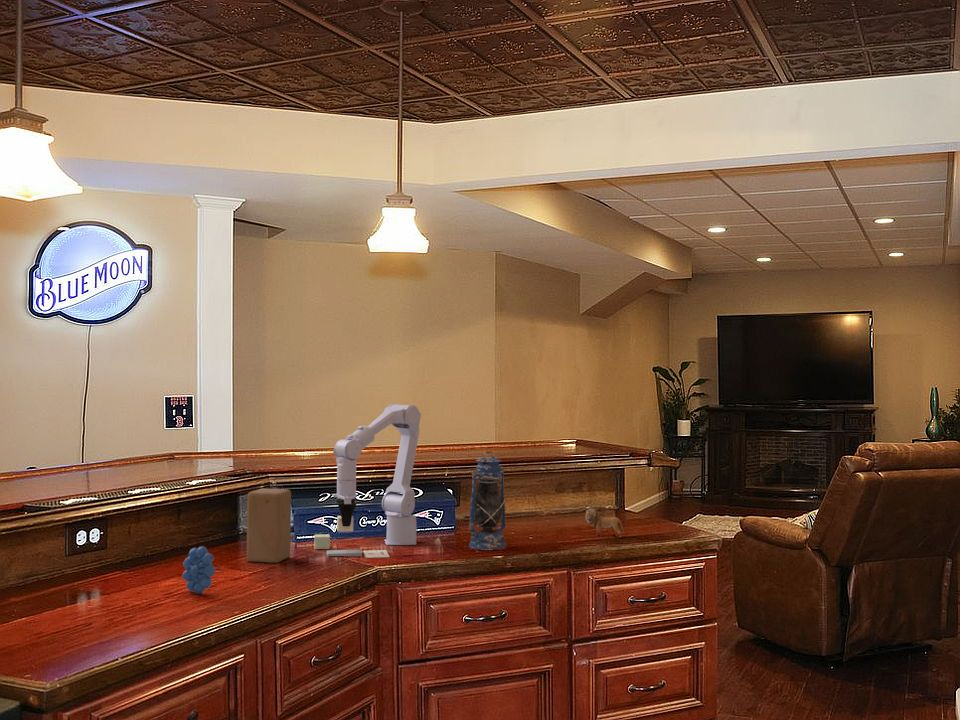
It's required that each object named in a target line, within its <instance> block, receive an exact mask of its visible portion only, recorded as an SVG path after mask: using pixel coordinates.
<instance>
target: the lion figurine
mask: <svg viewBox="0 0 960 720" xmlns="http://www.w3.org/2000/svg"><path fill="white" fill-rule="evenodd" d="M584 517H585V520H586V522H587V523H588V524H590V525H591V527H593V528H595V530H596V533H597V532H600V531H602V528H603V529H610V528H613V530H614V531H615V533H616V532H617V533H618V535H619V534H622V535H624V533H625V531H624V527H623V524H622V521H621V520H620V519H619V517H615V516H611V517H606V516H604V514H603V513H602V512H599V511H598V510H596V509H594V508H589V509H587V510H585V516H584ZM620 529H621V530H620Z"/></svg>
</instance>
